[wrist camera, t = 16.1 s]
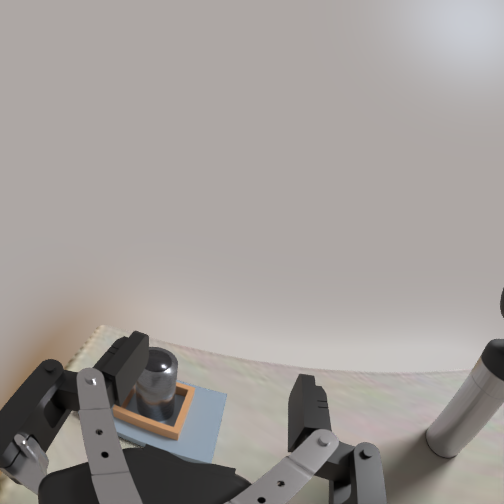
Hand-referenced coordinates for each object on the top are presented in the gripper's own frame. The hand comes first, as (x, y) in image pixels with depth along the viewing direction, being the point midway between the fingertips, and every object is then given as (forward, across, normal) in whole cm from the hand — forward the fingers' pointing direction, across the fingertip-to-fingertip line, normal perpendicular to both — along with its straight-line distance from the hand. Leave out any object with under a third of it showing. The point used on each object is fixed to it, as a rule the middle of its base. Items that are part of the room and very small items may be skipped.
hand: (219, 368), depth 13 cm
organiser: (+12, +8, +23) cm, 27 cm away
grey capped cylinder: (+12, +8, +22) cm, 26 cm away
